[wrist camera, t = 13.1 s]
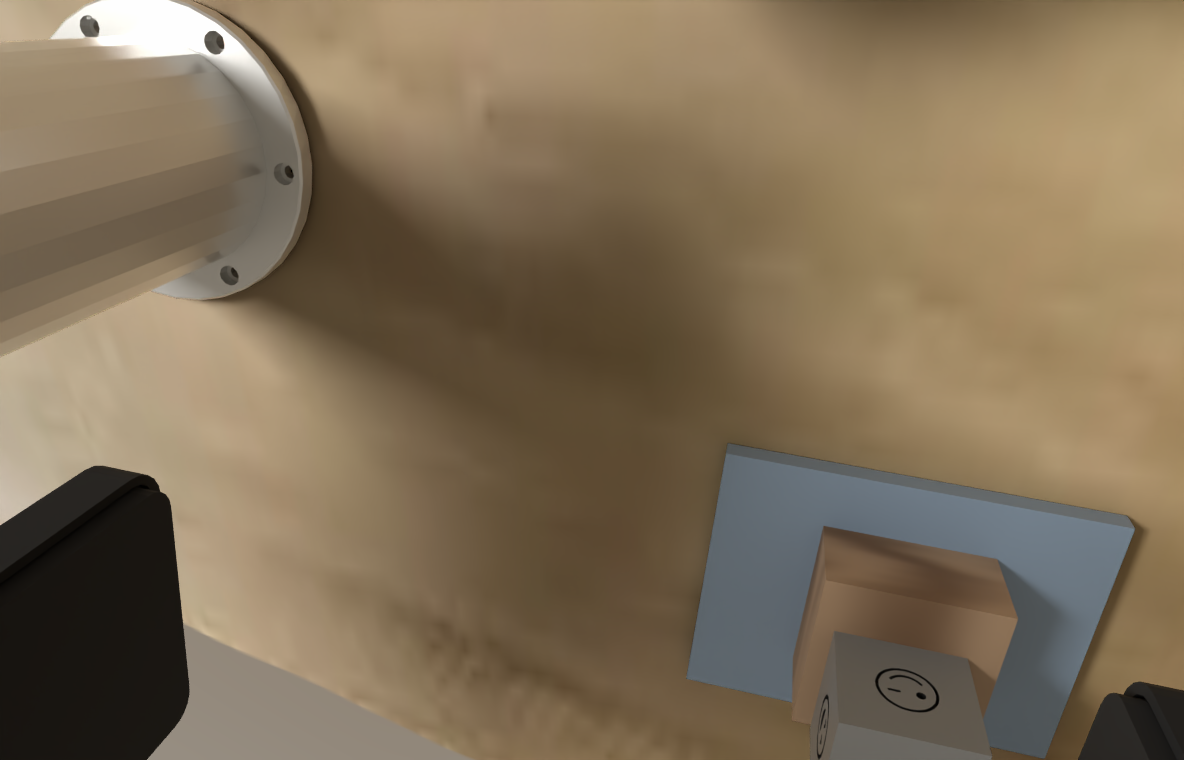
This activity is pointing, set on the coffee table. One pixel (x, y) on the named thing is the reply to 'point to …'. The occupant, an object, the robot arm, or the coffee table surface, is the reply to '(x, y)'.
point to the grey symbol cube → (895, 705)
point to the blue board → (913, 514)
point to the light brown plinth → (901, 607)
